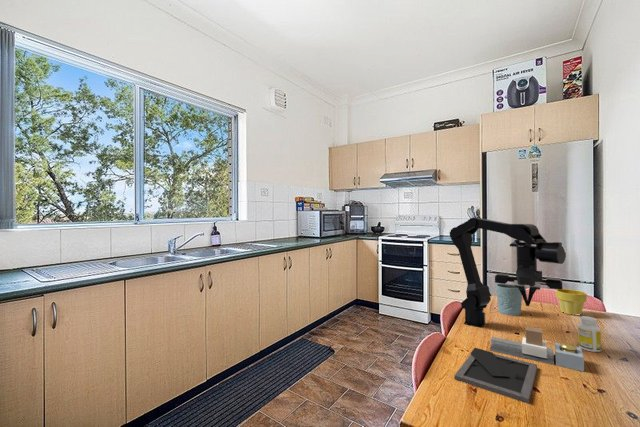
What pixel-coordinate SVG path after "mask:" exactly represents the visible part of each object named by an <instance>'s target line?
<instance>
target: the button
mask: <svg viewBox="0 0 640 427" xmlns="http://www.w3.org/2000/svg"><path fill="white" fill-rule="evenodd" d="M560 347H561V348H562V351H566V352H571V353H575V351H576V350H577V347H578V346H577V345H574V344H571V343H567V342H561V343H560Z"/></svg>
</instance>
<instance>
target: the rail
mask: <svg viewBox="0 0 640 427" xmlns="http://www.w3.org/2000/svg"><path fill="white" fill-rule="evenodd" d="M489 351H490V352H496V353H500V354H504V355H509V356H513V357H518V358H523V359H527V360H530V361H535V362H538V363H539V362H540V363H544V364H549V365H553V366H554V365H555V360H554V357H555V356H554V355H555V354H554V348H550V347H547V358H542V357H538V356H533V355H528V354H524V353H522V341H521V342H520V341H517V340H511V339H504V338H500V337H495V336H492V337H491V339H490V348H489Z"/></svg>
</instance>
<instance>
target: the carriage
mask: <svg viewBox="0 0 640 427" xmlns="http://www.w3.org/2000/svg"><path fill="white" fill-rule="evenodd" d="M521 340H522V341H521V343H522V353H524V354H528V355H533V356H538V357H542V358H547V348H548V346H547V341H546V340H545V341H544V340H543V328H539V327H532V326H526V327H525V336H522V339H521Z"/></svg>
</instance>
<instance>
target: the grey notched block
mask: <svg viewBox="0 0 640 427" xmlns="http://www.w3.org/2000/svg"><path fill="white" fill-rule="evenodd" d="M560 344H561V343H560V342H554V355H555V356H554V357H555V366H557V367H562V368H566V369H570V370H571V369H572V370H576V371H579V372H580V371H581V372H585V359H584V358H585V357H584V354H583V351H582V350H583V349H582V348H581V347H579V346H576V347H577V350H576V351H575V353H571V352H566V351H562V348H561V347H560Z"/></svg>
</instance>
